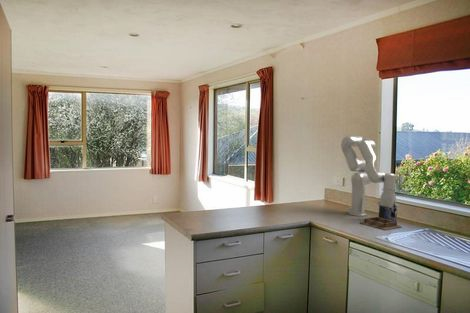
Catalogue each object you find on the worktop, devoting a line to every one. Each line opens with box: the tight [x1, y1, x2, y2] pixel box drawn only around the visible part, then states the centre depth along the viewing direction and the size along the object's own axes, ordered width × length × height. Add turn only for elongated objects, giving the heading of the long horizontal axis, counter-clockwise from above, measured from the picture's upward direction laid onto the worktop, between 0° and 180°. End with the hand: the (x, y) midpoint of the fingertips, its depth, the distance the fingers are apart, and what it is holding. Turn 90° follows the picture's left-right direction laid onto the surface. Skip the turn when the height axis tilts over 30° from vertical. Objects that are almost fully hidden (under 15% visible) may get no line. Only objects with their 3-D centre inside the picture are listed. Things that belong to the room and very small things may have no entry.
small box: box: [378, 205, 398, 222], centre depth 266 cm, size 11×6×10 cm, turn 102°
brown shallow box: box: [359, 216, 402, 231], centre depth 252 cm, size 20×16×4 cm
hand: (387, 215), depth 266 cm, fingers closed on small box, 7 cm apart
